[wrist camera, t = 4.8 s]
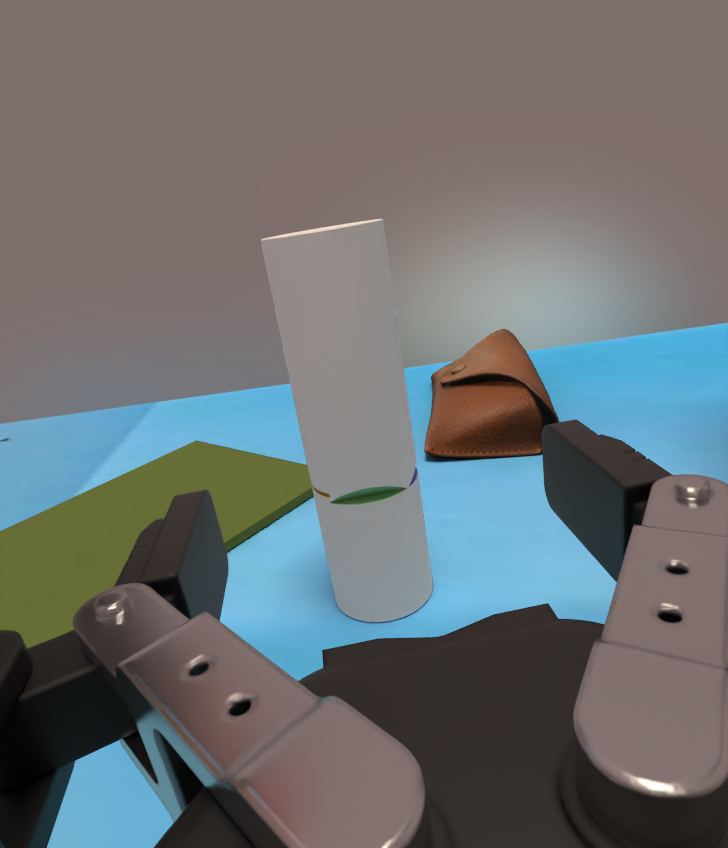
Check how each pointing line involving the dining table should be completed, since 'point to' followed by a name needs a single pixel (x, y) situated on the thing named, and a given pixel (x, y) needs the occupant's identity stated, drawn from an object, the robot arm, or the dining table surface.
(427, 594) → the tube
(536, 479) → the dining table surface
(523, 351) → the sunglasses case
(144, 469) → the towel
